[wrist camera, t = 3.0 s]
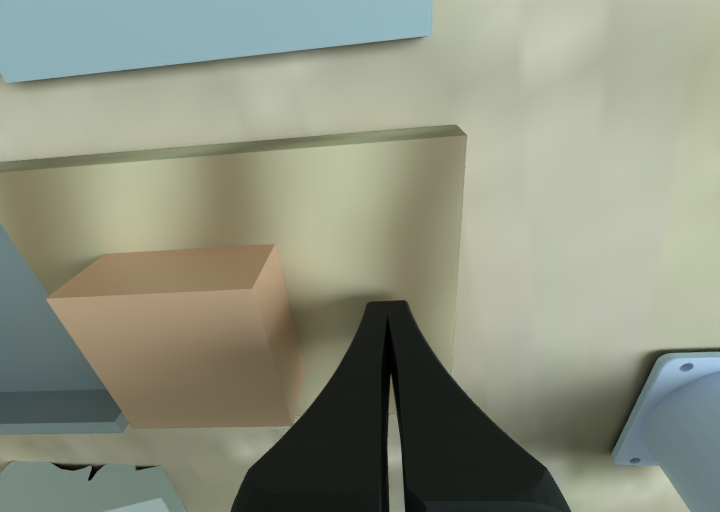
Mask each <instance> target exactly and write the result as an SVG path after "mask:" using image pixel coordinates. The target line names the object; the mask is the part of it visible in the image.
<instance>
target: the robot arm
mask: <svg viewBox="0 0 720 512" xmlns="http://www.w3.org/2000/svg"><path fill="white" fill-rule="evenodd" d="M391 377H392V384H393V391H394V398H395V405H396V411H397V418H398V425H399V432H400V440H401V451H402V467H403V484H404V500H405V512H571V510H570V508H569V506H568V504H567V502H566V500H565V498H564V497H563V495H562V493H561V491H560V489H559V487H558V486H557V484H556V482H555V481H554V479H553V477H552V476H551V474H550V472H549V471H548V469H547V468H546V467H545V466H544V465H542V464H541V463H540V462H539V461H537V460H536V459H535V458H534V457H533V456H531V455H530V454H529V453H528V452H526V451H525V450H524V449H523V448H522V447H521V446H519V445H518V444H517V443H516V442H515V441H513V440H512V439H511V438H510V437H509V436H508V435H507V434H506V433H505V432H504V431H502V430H501V429H500V428H499V427H498V426H497V425H496V424H495V423H494V422H493V421H492V420H491V419H490V418H489V417H488V416H487V415H486V414H485V413H484V412H483V411H482V410H481V409H480V408H479V407H478V406H477V405H476V404H475V403H474V402H473V401H472V400H471V399H470V398H469V397H468V395H467V394H466V393H465V392H464V391H463V390H462V389H461V388H460V386H459V385H458V384H457V383H456V382H455V380H454V379H453V378H452V377H451V375H450V374H449V373H448V372H447V370H446V369H445V368H444V366H443V365H442V363H441V362H440V361H439V359H438V358H437V356H436V355H435V353H434V352H433V350H432V349H431V347H430V346H429V344H428V342H427V341H426V339H425V337H424V336H423V334H422V332H421V331H420V329H419V327H418V325H417V323H416V321H415V319H414V317H413V315H412V312H411V310H410V307H409V304H408V302H407V301H405V300H395V301H372V302H368V303H367V304H366V307H365V311H364V314H363V317H362V320H361V322H360V325H359V327H358V330H357V332H356V334H355V336H354V338H353V340H352V342H351V344H350V346H349V348H348V350H347V352H346V354H345V355H344V357H343V359H342V361H341V362H340V364H339V366H338V368H337V369H336V371H335V372H334V374H333V375H332V377H331V378H330V380H329V381H328V383H327V384H326V386H325V387H324V388H323V390H322V391H321V393H320V394H319V395H318V396H317V398H316V399H315V400H314V402H313V403H312V404H311V406H310V407H309V408H308V409H307V410H306V412H305V413H304V414H303V415H302V416H301V417H300V418H299V420H298V421H297V422H296V423H295V424H294V425H293V426H292V427H291V428H290V429H289V431H288V432H287V433H286V434H285V435H284V436H283V437H282V438H281V439H280V440H279V441H278V442H277V443H276V444H275V445H274V446H273V447H272V448H271V449H270V450H269V451H268V452H267V453H266V454H265V455H263V456H262V457H261V458H260V459H259V460H258V461H257V462H256V463H255V464H254V465H253V466H252V467H251V468H250V469H249V470H248V472H247V474H246V476H245V478H244V480H243V482H242V484H241V486H240V489H239V491H238V494H237V496H236V498H235V500H234V503H233V506H232V508H231V512H389V483H388V454H387V437H388V416H389V397H390V378H391ZM611 457H612V458H613V460H614V462H615V463H616V464H618V465H659V466H660V467H661V469H662V470H663V472H664V473H665V474H666V476H667V477H668V479H669V480H670V482H671V483H672V485H673V486H674V488H675V489H676V491H677V492H678V494H679V495H680V497H681V498H682V500H683V501H684V503H685V504H686V506H687V507H688V509H689V510H690V512H720V352H692V353H669V354H665V355H662V356H661V357H659V358H658V359H657V361H656V363H655V365H654V367H653V369H652V371H651V373H650V375H649V377H648V379H647V381H646V383H645V385H644V388H643V390H642V392H641V394H640V396H639V398H638V400H637V402H636V404H635V406H634V408H633V410H632V412H631V415H630V417H629V419H628V421H627V423H626V425H625V427H624V429H623V431H622V433H621V435H620V437H619V440H618V442H617V444H616V446H615V448H614V450H613V452H612V454H611Z"/></svg>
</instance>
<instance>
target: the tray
mask: <svg viewBox="0 0 720 512" xmlns="http://www.w3.org/2000/svg"><path fill="white" fill-rule="evenodd" d="M10 162H11V161H10ZM5 163H8V162H0V165H2V164H5ZM48 296H49V295H48V294H47V292H46V291H45V289H44V288H43V286H42V285H41V283H40V282H39V280H38V279H37V277H36V276H35V274H34V273H33V271H32V270H31V268H30V267H29V265H28V264H27V262H26V261H25V259H24V258H23V256H22V255H21V253H20V252H19V250H18V249H17V247H16V246H15V244H14V243H13V241H12V240H11V238H10V237H9V235H8V234H7V232H6V231H5V229H4V228H3V226H2V225H1V223H0V435H1V434H68V433H122V432H123V431H124V429H125V428H126V426H127V425H128V423H129V421H128V420H127V418H126V417H125V415H124V414H123V412H122V411H121V409H120V408H119V406H118V405H117V404H116V402H115V401H114V399H113V398H112V396H111V395H110V393H109V392H108V390H107V389H106V387H105V386H104V384H103V383H102V381H101V380H100V378H99V377H98V376H97V374H96V373H95V371H94V370H93V368H92V367H91V365H90V364H89V362H88V361H87V359H86V358H85V356H84V355H83V353H82V352H81V350H80V349H79V348H78V346H77V345H76V343H75V342H74V340H73V339H72V337H71V336H70V334H69V333H68V331H67V330H66V328H65V327H64V325H63V324H62V322H61V321H60V320H59V318H58V317H57V315H56V314H55V312H54V311H53V309H52V308H51V306H50V305H49V303H48V302H47V300H46V298H47V297H48Z"/></svg>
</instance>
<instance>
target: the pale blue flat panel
mask: <svg viewBox="0 0 720 512" xmlns="http://www.w3.org/2000/svg"><path fill="white" fill-rule="evenodd" d="M431 35H432V0H0V74H1V76H2V78H3V79H4V81H5V83H13V82H22V81H31V80H40V79H48V78H57V77H66V76H75V75H84V74H93V73H102V72H111V71H120V70H129V69H137V68H146V67H155V66H164V65H173V64H182V63H191V62H200V61H209V60H218V59H226V58H235V57H244V56H253V55H262V54H271V53H280V52H289V51H298V50H307V49H315V48H324V47H333V46H342V45H351V44H360V43H369V42H378V41H387V40H396V39H404V38H413V37H422V36H431Z"/></svg>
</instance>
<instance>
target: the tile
mask: <svg viewBox="0 0 720 512" xmlns="http://www.w3.org/2000/svg"><path fill="white" fill-rule="evenodd" d="M46 300H47V302H48V303H49V305H50V306H51V308H52V309H53V311H54V312H55V314H56V315H57V317H58V318H59V320H60V321H61V322H62V324H63V325H64V327H65V328H66V330H67V331H68V333H69V334H70V336H71V337H72V339H73V340H74V342H75V343H76V345H77V346H78V348H79V349H80V350H81V352H82V353H83V355H84V356H85V358H86V359H87V361H88V362H89V364H90V365H91V367H92V368H93V370H94V371H95V373H96V374H97V376H98V377H99V378H100V380H101V381H102V383H103V384H104V386H105V387H106V389H107V390H108V392H109V393H110V395H111V396H112V398H113V399H114V401H115V402H116V404H117V405H118V406H119V408H120V409H121V411H122V412H123V414H124V415H125V417H126V418H127V420H128V421H129V423H130V424H131V426H132V427H133V428H196V427H259V426H293V424H294V419H295V415H296V410H297V406H298V401H299V397H300V392H301V388H302V383H303V379H304V374H305V367H304V363H303V358H302V354H301V350H300V346H299V342H298V337H297V333H296V329H295V325H294V321H293V316H292V312H291V308H290V304H289V300H288V296H287V291H286V287H285V283H284V279H283V275H282V270H281V266H280V262H279V258H278V254H277V250H276V245H275V244H267V245H250V246H232V247H215V248H198V249H181V250H164V251H146V252H129V253H112V254H104V255H102V256H101V257H100V258H98V259H97V260H96V261H94V262H93V263H92V264H91V265H89V266H88V267H87V268H85V269H84V270H83V271H81V272H80V273H79V274H77V275H76V276H75V277H73V278H72V279H71V280H69V281H68V282H67V283H66V284H64V285H63V286H62V287H60V288H59V289H58V290H56V291H55V292H54V293H52V294H51V295H50V296H48V297H47V298H46Z"/></svg>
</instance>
